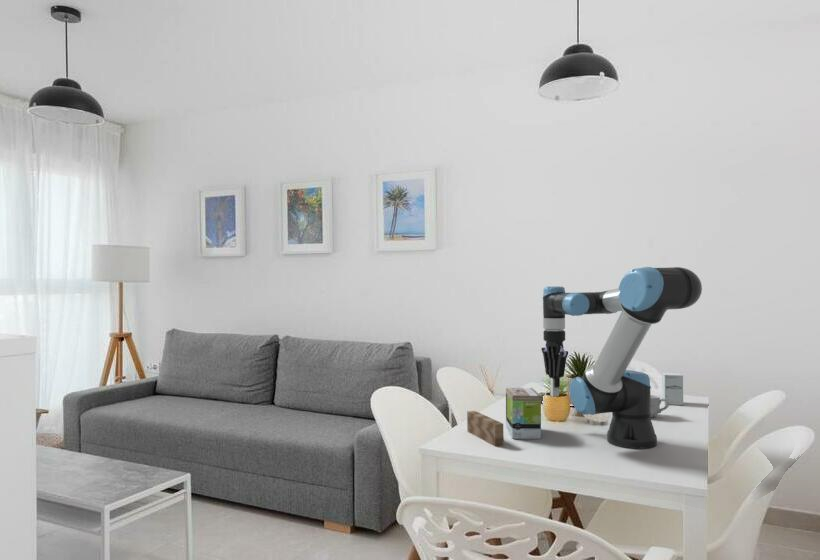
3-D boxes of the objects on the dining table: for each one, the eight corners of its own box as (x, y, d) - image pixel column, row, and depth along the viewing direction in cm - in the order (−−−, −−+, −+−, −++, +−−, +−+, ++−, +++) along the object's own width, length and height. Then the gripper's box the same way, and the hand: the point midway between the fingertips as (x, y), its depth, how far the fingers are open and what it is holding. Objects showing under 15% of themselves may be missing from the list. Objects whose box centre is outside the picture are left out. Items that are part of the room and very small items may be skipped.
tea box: (542, 439, 189) (541, 394, 189) (512, 439, 190) (511, 395, 190) (533, 427, 204) (532, 386, 204) (505, 427, 205) (504, 386, 205)
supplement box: (664, 404, 237) (663, 374, 237) (662, 401, 244) (661, 371, 244) (683, 405, 235) (683, 375, 235) (680, 402, 242) (680, 372, 242)
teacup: (624, 416, 219) (624, 395, 219) (638, 411, 226) (638, 391, 226) (660, 422, 208) (660, 400, 208) (673, 417, 216) (673, 396, 216)
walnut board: (503, 445, 183) (503, 423, 183) (495, 446, 182) (495, 424, 182) (475, 430, 202) (474, 410, 202) (467, 431, 200) (467, 411, 200)
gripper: (574, 330, 197) (575, 398, 197) (552, 327, 209) (553, 391, 209) (556, 332, 194) (556, 400, 195) (534, 328, 207) (535, 393, 207)
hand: (554, 396), depth 202 cm, fingers closed
